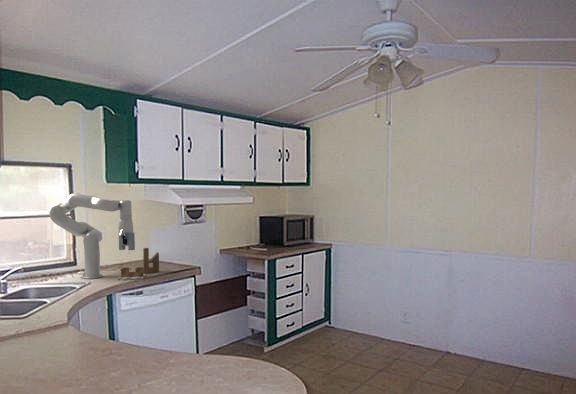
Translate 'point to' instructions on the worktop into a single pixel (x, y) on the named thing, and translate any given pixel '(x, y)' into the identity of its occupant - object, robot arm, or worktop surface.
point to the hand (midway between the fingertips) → (126, 243)
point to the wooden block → (153, 260)
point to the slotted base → (131, 273)
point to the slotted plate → (130, 242)
